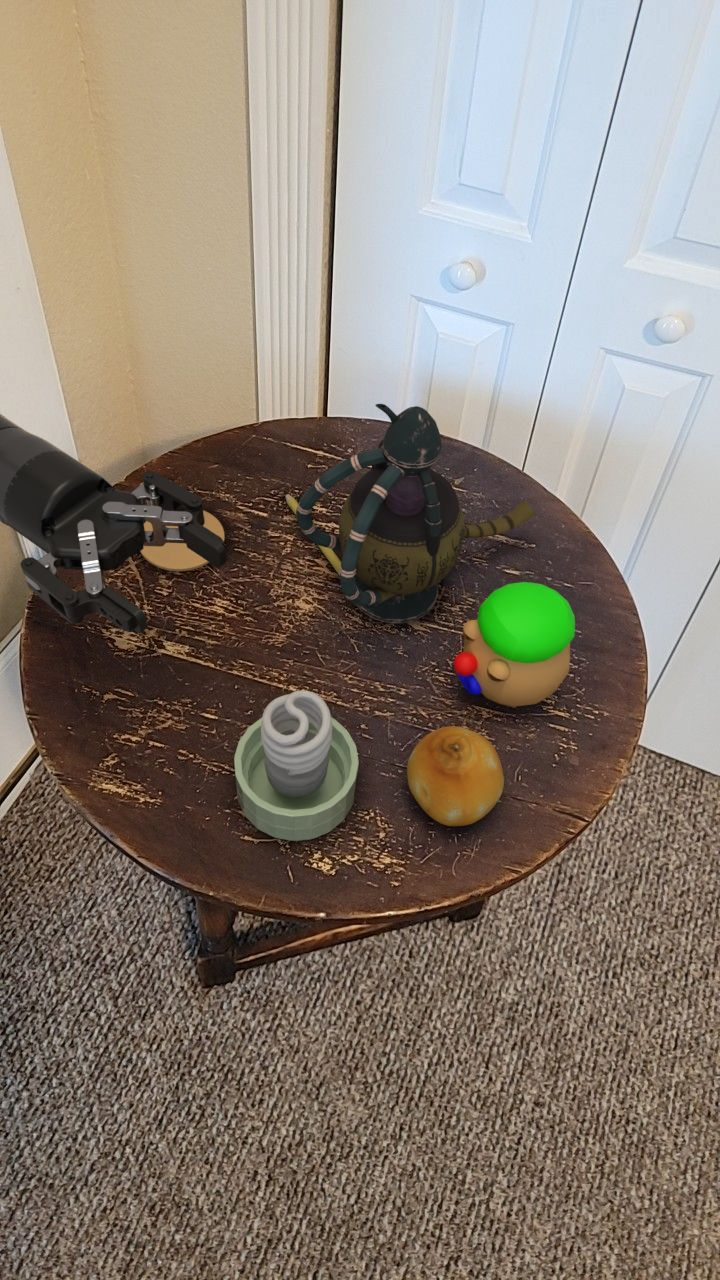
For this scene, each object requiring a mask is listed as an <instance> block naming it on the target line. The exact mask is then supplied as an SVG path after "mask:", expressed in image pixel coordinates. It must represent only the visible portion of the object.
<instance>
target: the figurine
mask: <svg viewBox="0 0 720 1280" xmlns="http://www.w3.org/2000/svg"><path fill="white" fill-rule="evenodd" d="M462 627H463V628H462V633H461V634H462V636H463V638H464V639H463V649H462V651H463V652H460V653H458V654H457V655H456V656H455V657H454V659H453V669H454V671H455V672H456V674H457V677H458V679H459V681H460V682H461V685H462V686H463V687H464V689H465V690H466V691H467V692H468V693H469V694H471V695H474V696H476V695H477V696H478V695H480V694H482V695H483V697H485V698H486V699H487V700H490V701H492V702H494V703H496V704H499V705H503V706H507V707H510V708H515V707H522V706H524V707H525V706H530V705H531V706H532V705H536V704H538V703H540V702H542V701H543V700H545V699H547V698H548V697H550V696H551V695H553V694H554V693H555V692H556V690H557V689H558V688H559V687H560V685H561V684H562V683H563V681H564V680H565V678H566V677H567V676H568V674H569V673H570V668H571V667H570V664H571V641H573V639H574V638H575V637H576V636H575V635H576V620H575V614H574V612H573V610H572V607H571V605H570V603H569V601H568V600H567V599H566V598H565V597H564V596H563V595H561V594H560V592H558V591H557V590H555V589H554V588H551V587H548V586H547V585H544V584H542V583H536V582H529V581H520V582H519V581H518V582H513V583H507V584H505V585H503V586H501V587H499V588H497V589H495V590H493V591H492V592H491V593H490V594H489V595H488V596H487V598H486V599H485V600H484V601H483V602H482V604H480V605H479V607H478V612H477V618H476V619H471V620H468V621H466V622H465V623H464V624H463V626H462Z"/></svg>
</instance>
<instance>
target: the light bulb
mask: <svg viewBox="0 0 720 1280" xmlns="http://www.w3.org/2000/svg"><path fill="white" fill-rule="evenodd" d="M331 717H332V714H331V710H330V708H329V706H328V705H327V703H326V701H325V700H324V699H323V698H322V697H321V696H320V695H318V694H316V692H313V691H310V690H303V689H300V690H296V691H292V692H291V693H289V694H284V695H280V696H278V697H276V698H274V699H273V700H271V701H270V702H269V703H268V704H267V705H266V707H265V708H264V710H263V713H262V717H261V718H262V723H261V741H262V744H263V747H264V751H265V756H264V767H265V770H266V774H267V778H268V781H269V783H270V784H271V786H272V787H273V788H274V789H275V790H276V791H277V792H279V793H281V794H283V795H285V796H287V797H294V798H299V797H305V796H308V795H310V794H312V793H314V792H315V791H317V790H318V789H319V788H320V787H321V785H322V784H323V783H324V780H325V777H326V774H327V769H328V763H329V755H328V751H329V748H330V745H331V741H332V722H331ZM290 719H299V721H300V724H299V723H297V722H296V721H295V720H290ZM309 723H310V724H311V725H313V726H314V727H315V728H316V730H317V731H318V734H317V735H316V734H314V733H312V732H310V731H308V725H309ZM285 729H290V730H286V731H283V732H281V733H279V732H280V731H282V730H285Z"/></svg>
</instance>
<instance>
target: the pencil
mask: <svg viewBox="0 0 720 1280" xmlns="http://www.w3.org/2000/svg"><path fill="white" fill-rule="evenodd" d="M283 493H284V496H285V500H286V503H287V505H288V507H289V508H290V510H291V511H292V512H293V513H294V515H295V516H296V510H297V507H298V504H299V502H298V501H297V500H296V499H295V498H294V497H293V496H292V495H290V494H288V493H287V492H285V491H283ZM317 547H318V548H319V550H320V551H321V552H322V553H323V555H324V556H325V558H326V559H327V560H328V562H329V563H330V564H331V566H332V567H333V569H334V570H335V571H336V573H337V574H338V576H339V577H340V569H341V561H342V560H340V558H339V557H338V556H337V554H336V553H335V552H334V550H333V549H330V548H326V547H323V546H319V545H317Z"/></svg>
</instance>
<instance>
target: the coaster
mask: <svg viewBox="0 0 720 1280" xmlns="http://www.w3.org/2000/svg"><path fill="white" fill-rule="evenodd" d="M203 514H204V519H205V524H204V525H203V526H204V527H205V528H207V529H208V530H210V531H211V532H213V533H215V534H216V535H218V536H219V537H221V538H222V540H223V541H224V542H225V539H226V538H225V537H226V536H225V530H224V527H223V525H222V523H221V522H220V521H219V520H218V519H217V517H216V516H214V515H213V514H212V513H210V512H208V511H206V510H204V509H203ZM143 523H144V528H145V531H153V527H152V524H151V523H150V522H148V521H144V522H143ZM166 527H167V528H178V526H166ZM143 547H144V549H142V550H141V551H140V552H139V553H140V554H141V556H142V557H143V558H144V559H145V560H146V561H147V562H148V563H149V564H151V565H152V566H154V567H156V568H159V569H162V570H164V571H169V572H188V571H193V570H196V569H197V570H198V569H200V568H202V567H204V566H206V565H208V564H209V563H210V562H208V561H207V560H205V559H204V558H202V557H201V556H199V555H198V554H196V553H195V552H193V551H192V550H190V549H189V548H187V545H186V543H165V545H164V546H161V547H158V546H143ZM210 564H211V563H210Z"/></svg>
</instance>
